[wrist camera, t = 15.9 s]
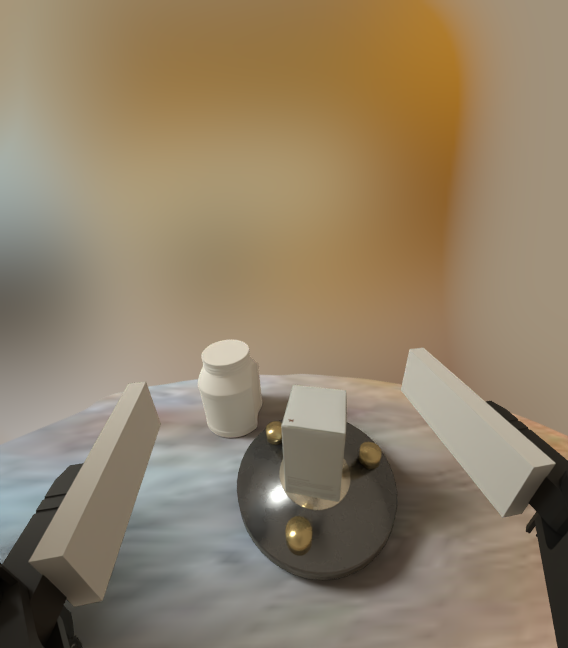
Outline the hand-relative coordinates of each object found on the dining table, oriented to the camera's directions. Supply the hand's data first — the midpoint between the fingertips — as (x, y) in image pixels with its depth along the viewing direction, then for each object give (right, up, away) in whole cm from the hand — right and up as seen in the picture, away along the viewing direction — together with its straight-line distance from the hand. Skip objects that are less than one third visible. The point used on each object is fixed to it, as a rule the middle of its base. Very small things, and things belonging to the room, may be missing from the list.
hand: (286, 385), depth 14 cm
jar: (-10, -15, +40) cm, 44 cm away
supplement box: (+4, -18, +24) cm, 31 cm away
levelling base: (+4, -21, +26) cm, 34 cm away
